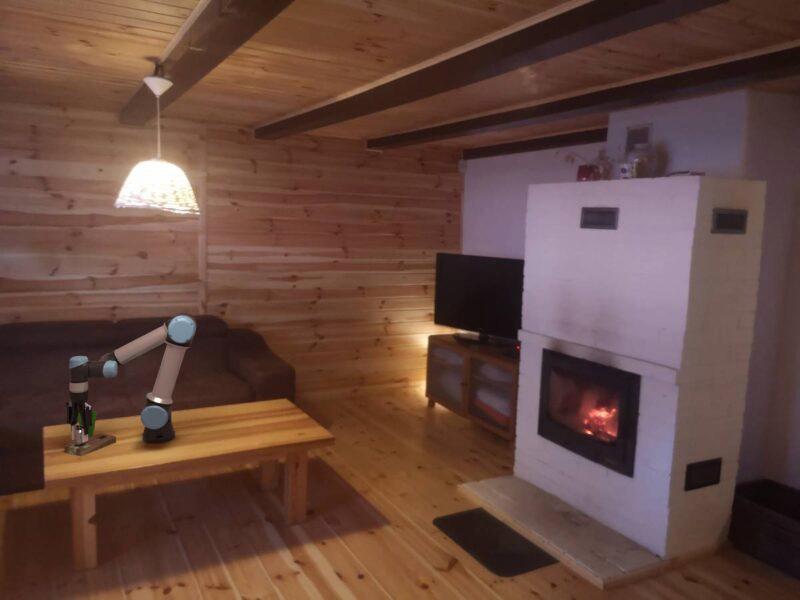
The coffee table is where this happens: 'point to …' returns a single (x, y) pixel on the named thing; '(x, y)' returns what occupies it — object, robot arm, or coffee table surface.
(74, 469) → the coffee table surface
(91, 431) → the cup
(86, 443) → the mount board
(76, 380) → the robot arm
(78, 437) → the lock pin
